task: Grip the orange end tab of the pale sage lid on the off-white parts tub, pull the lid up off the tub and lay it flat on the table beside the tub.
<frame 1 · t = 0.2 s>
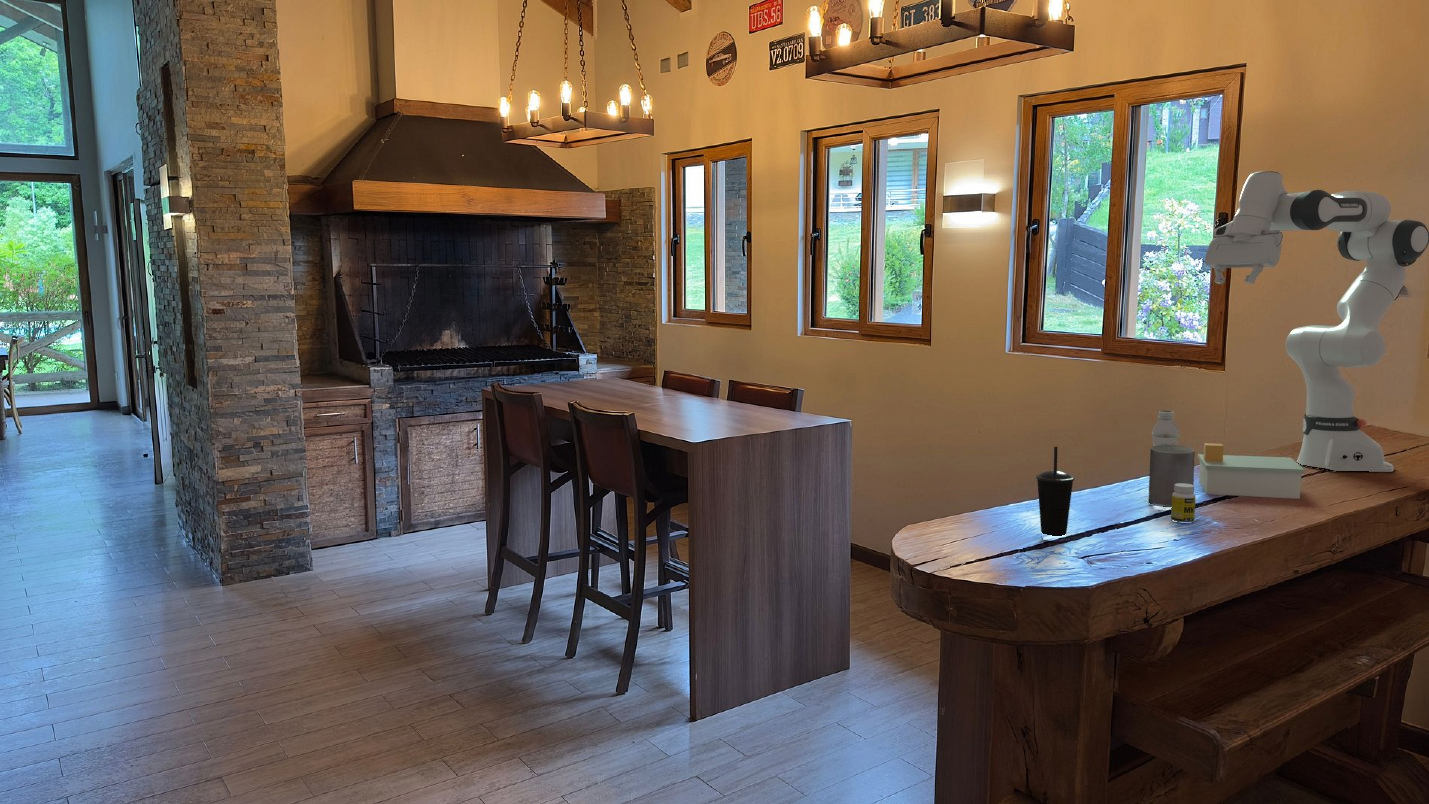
hand: (1233, 283, 247), 52 cm above the table, tool tilted 20°, fingers open, 8 cm apart
tub: (1247, 492, 237), on the table
drinking cup: (1053, 540, 202), on the table
pillar candle: (1170, 505, 228), on the table
supplement bottle: (1182, 522, 213), on the table
plastic bottle: (1163, 488, 245), on the table
lid: (1248, 465, 236), point 7 cm above the table, touching tub
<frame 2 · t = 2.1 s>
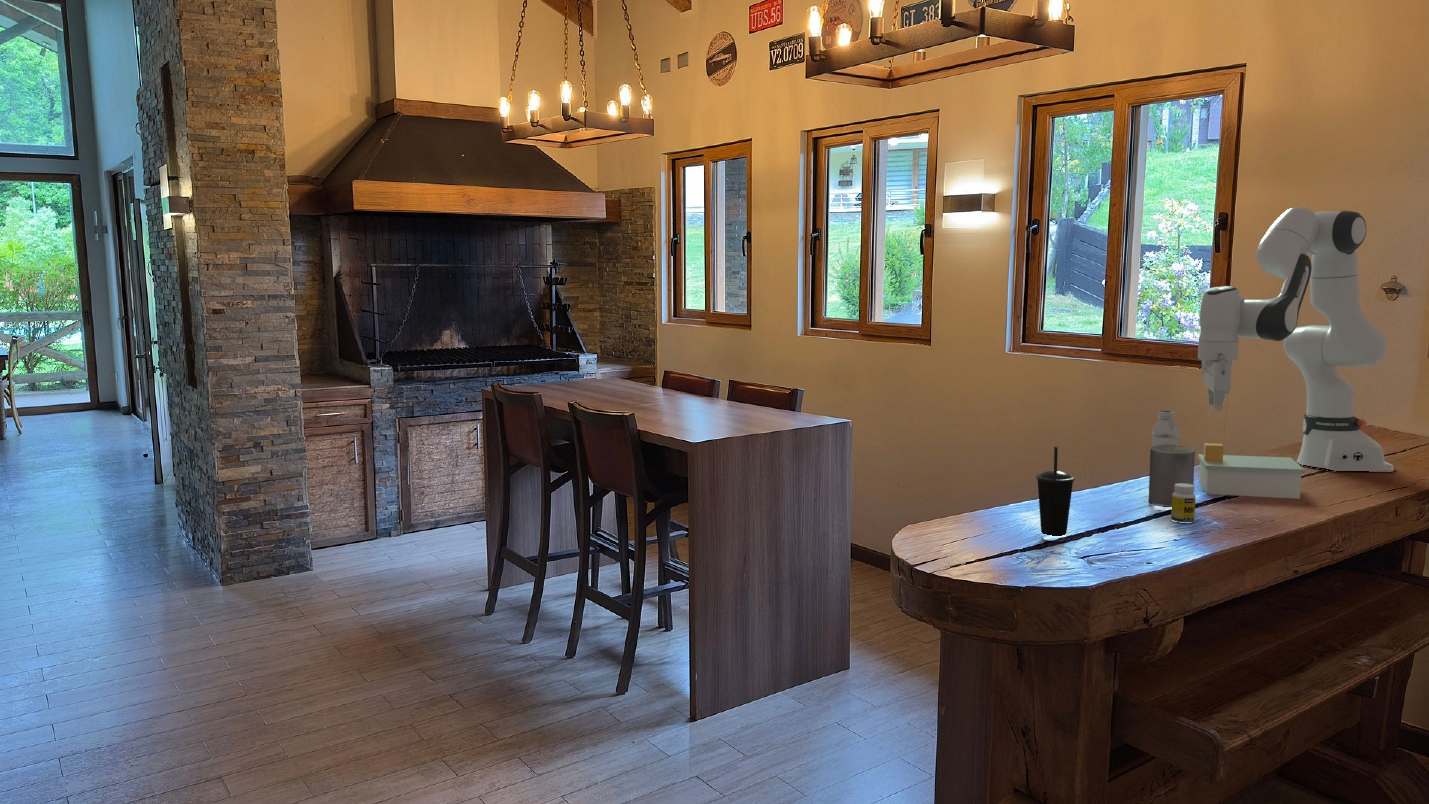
hand: (1215, 407, 237), 21 cm above the table, tool pointing down, fingers open, 8 cm apart
nothing on the table moved.
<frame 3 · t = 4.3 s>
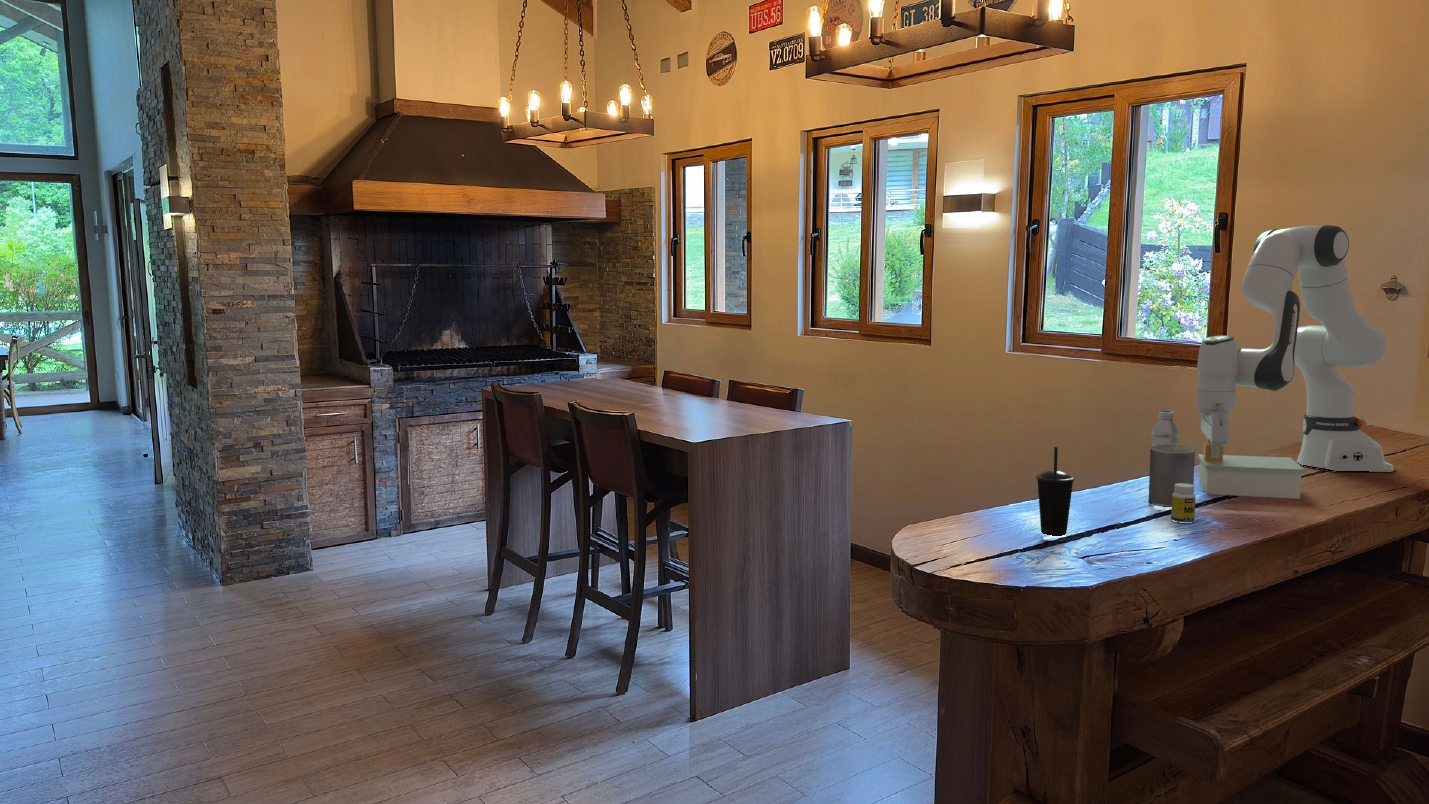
hand: (1213, 455, 239), 9 cm above the table, tool pointing down, fingers closed on lid, 3 cm apart
lid: (1248, 465, 236), point 7 cm above the table, touching gripper, tub
everything else where it was.
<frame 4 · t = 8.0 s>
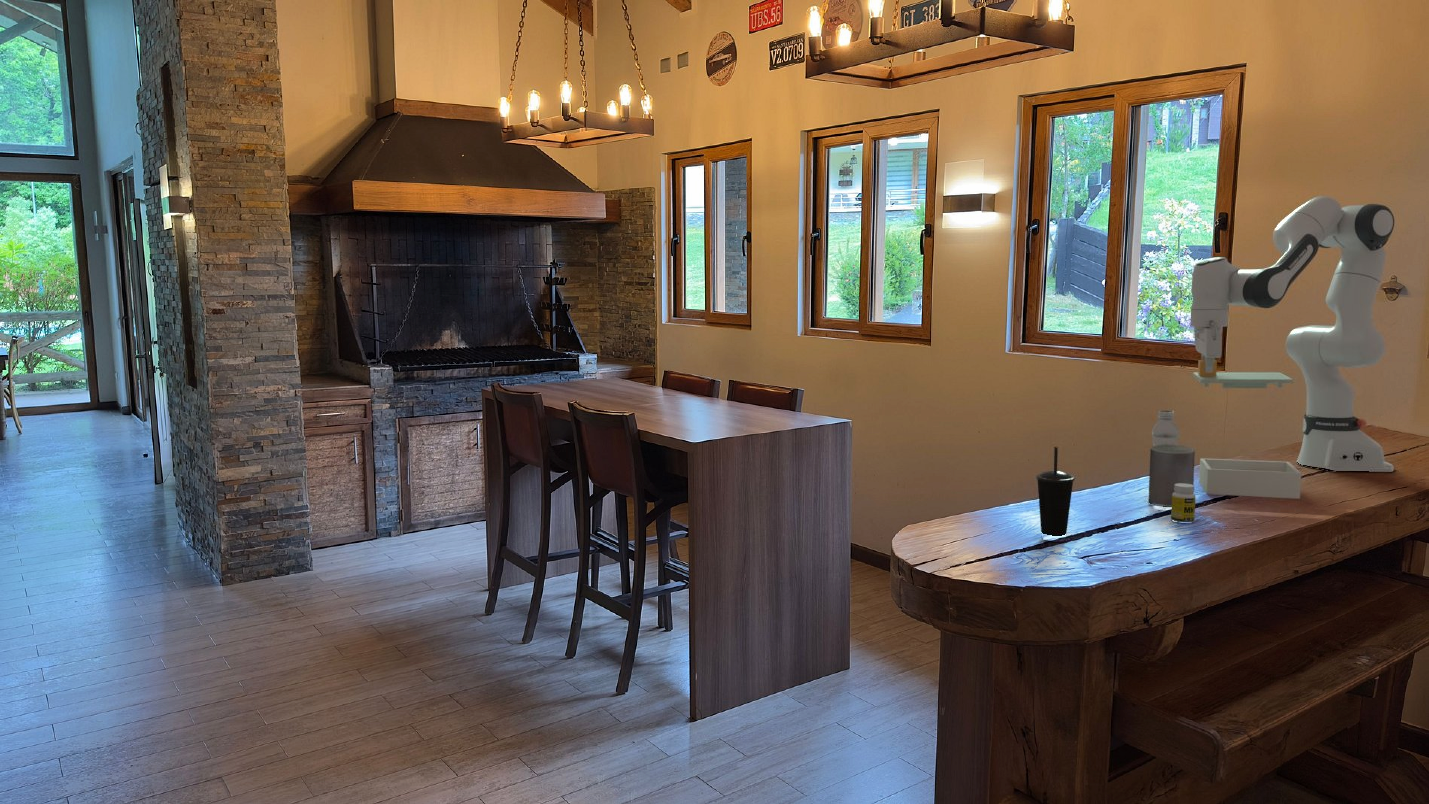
hand: (1207, 371, 253), 28 cm above the table, tool pointing down, fingers closed on lid, 3 cm apart
lid: (1240, 379, 251), point 26 cm above the table, touching gripper
everything else where it was.
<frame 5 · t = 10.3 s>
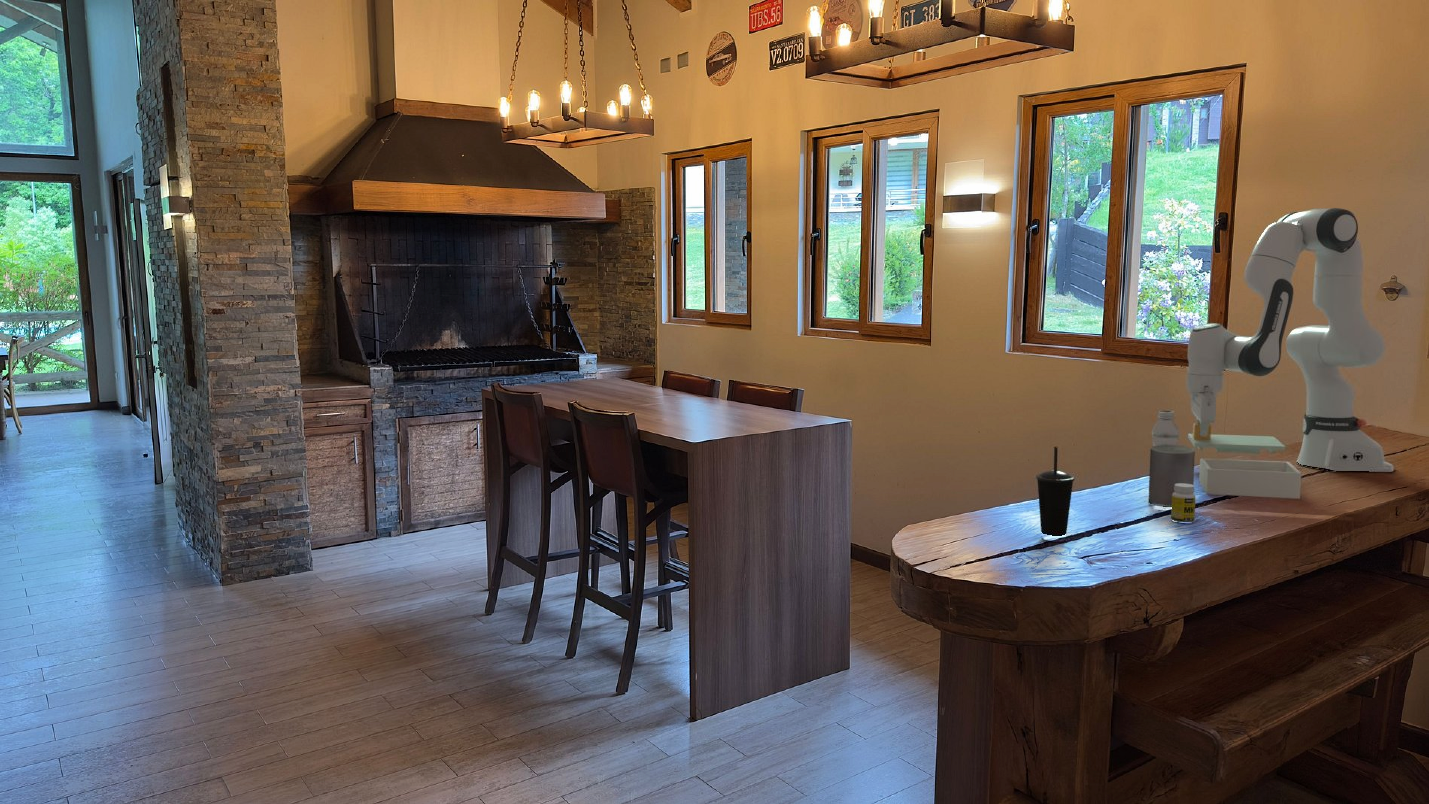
hand: (1202, 434, 258), 11 cm above the table, tool pointing down, fingers closed on lid, 3 cm apart
lid: (1234, 443, 256), point 9 cm above the table, touching gripper
everything else where it was.
when the fingers open (5 cm above the table, at t = 12.2 s): lid drops 1 cm, point 1 cm above the table.
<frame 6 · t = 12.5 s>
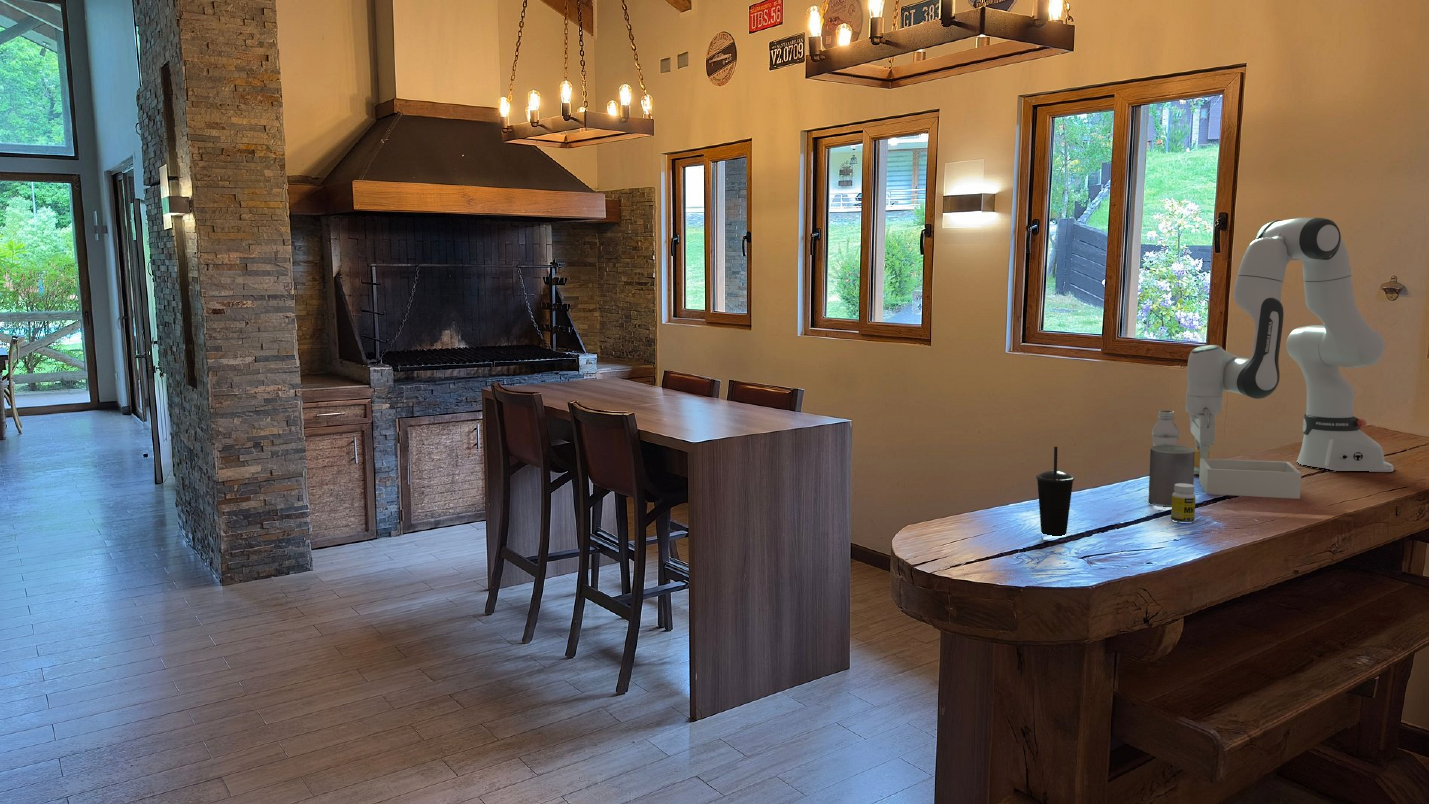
hand: (1201, 455, 259), 5 cm above the table, tool pointing down, fingers open, 6 cm apart
lid: (1232, 470, 257), point 1 cm above the table
everything else where it was.
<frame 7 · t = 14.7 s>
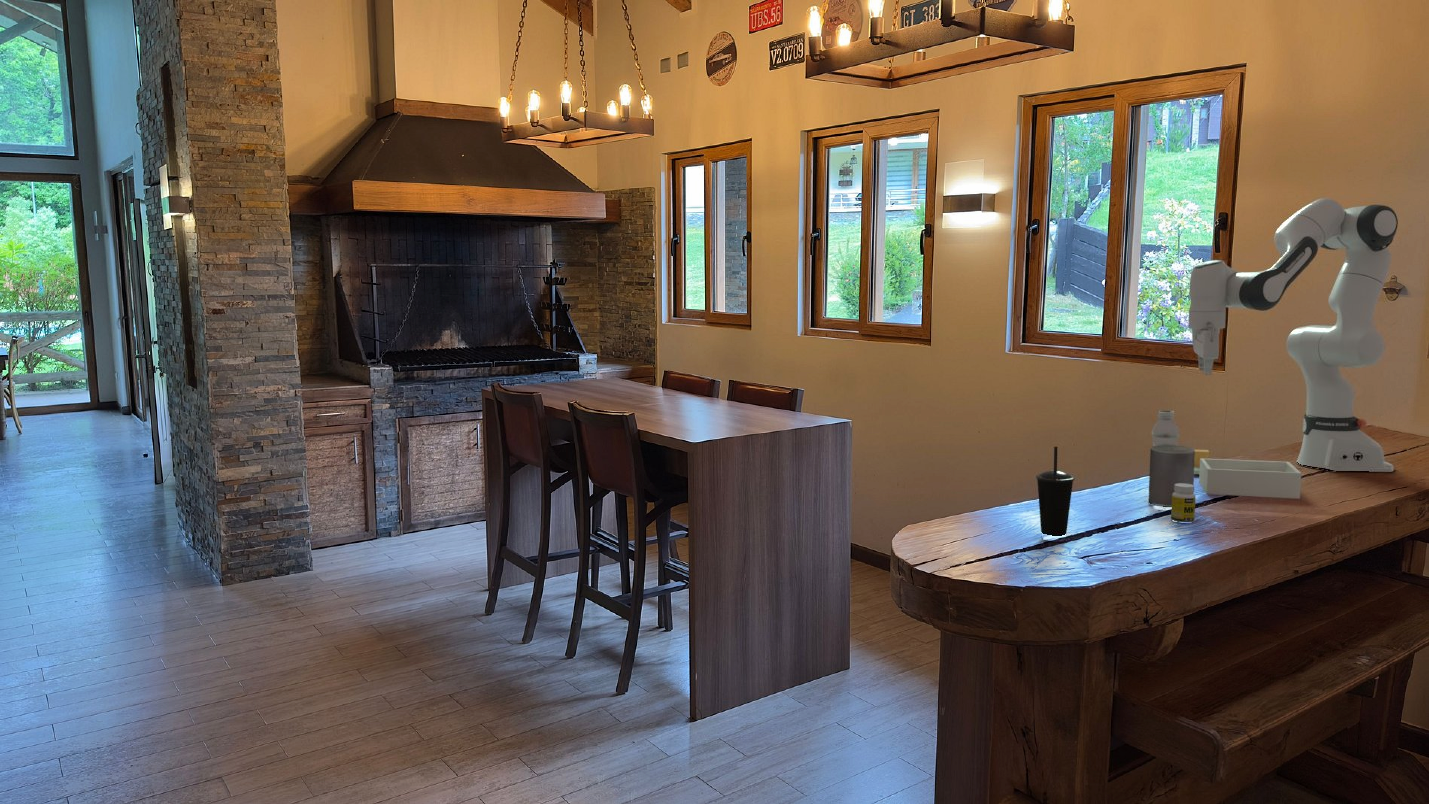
hand: (1205, 372, 257), 28 cm above the table, tool pointing down, fingers open, 8 cm apart
nothing on the table moved.
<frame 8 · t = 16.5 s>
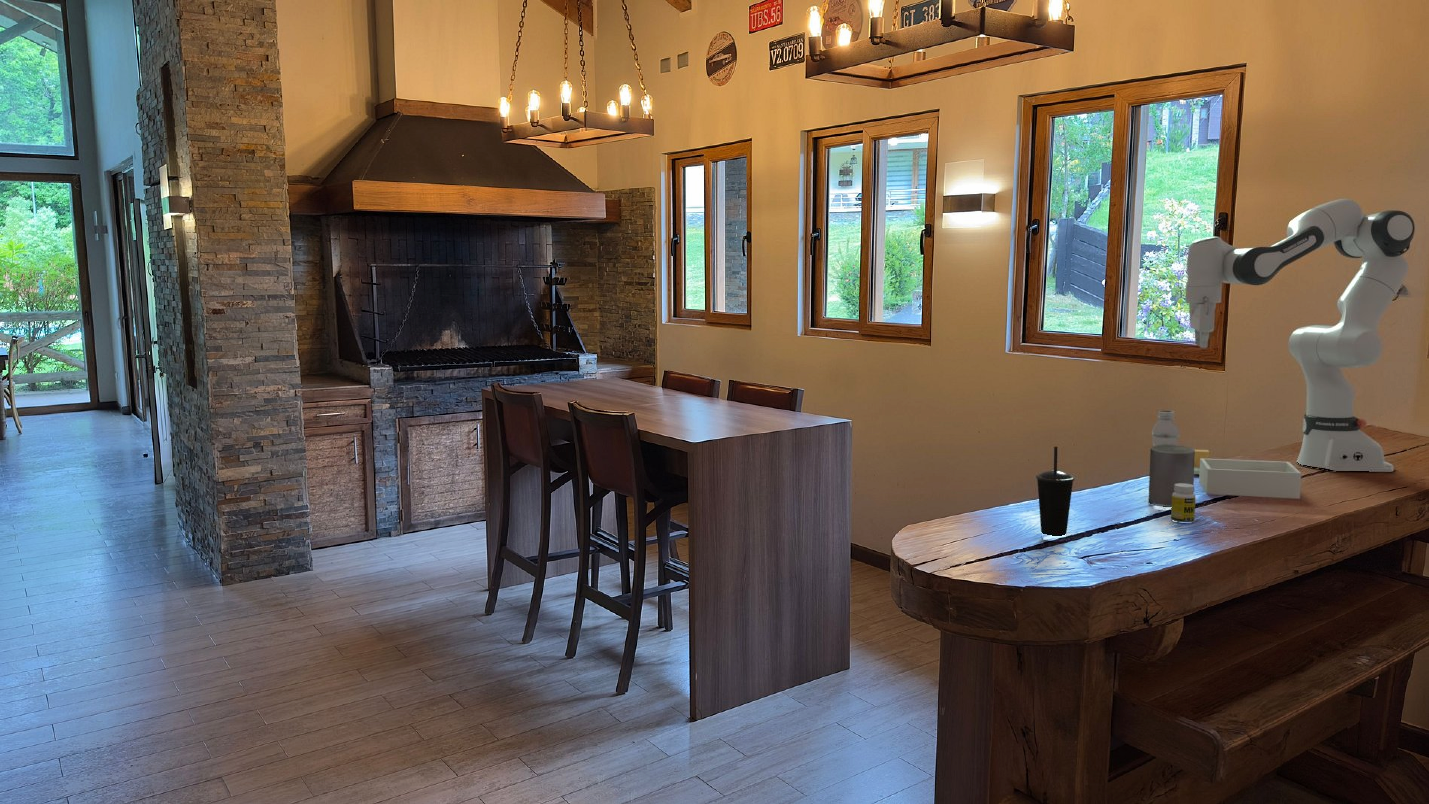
hand: (1201, 346, 264), 34 cm above the table, tool pointing down, fingers open, 8 cm apart
nothing on the table moved.
at the end: lid touching table; lid inside the target area (0.3 cm from its centre), point 1.5 cm above the table; lid tilted 0° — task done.
